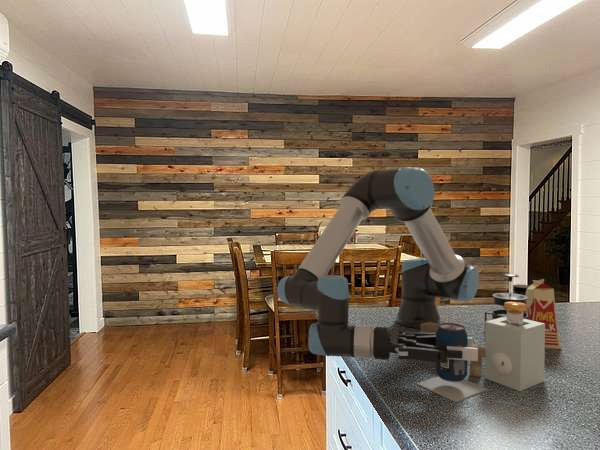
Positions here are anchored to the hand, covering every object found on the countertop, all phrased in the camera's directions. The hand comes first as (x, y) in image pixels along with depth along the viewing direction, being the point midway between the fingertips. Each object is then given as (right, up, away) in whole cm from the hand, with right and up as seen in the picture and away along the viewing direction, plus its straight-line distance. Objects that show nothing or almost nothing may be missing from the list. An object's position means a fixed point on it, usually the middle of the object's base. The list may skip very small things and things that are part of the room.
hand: (474, 348), depth 99 cm
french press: (+18, -8, +22) cm, 30 cm away
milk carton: (+33, -8, +32) cm, 47 cm away
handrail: (+1, -9, +15) cm, 18 cm away
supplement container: (+46, -6, +68) cm, 82 cm away
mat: (-5, -9, +2) cm, 11 cm away
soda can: (-5, -7, +1) cm, 9 cm away
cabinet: (+11, -9, +5) cm, 15 cm away
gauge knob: (+12, +2, +5) cm, 13 cm away
